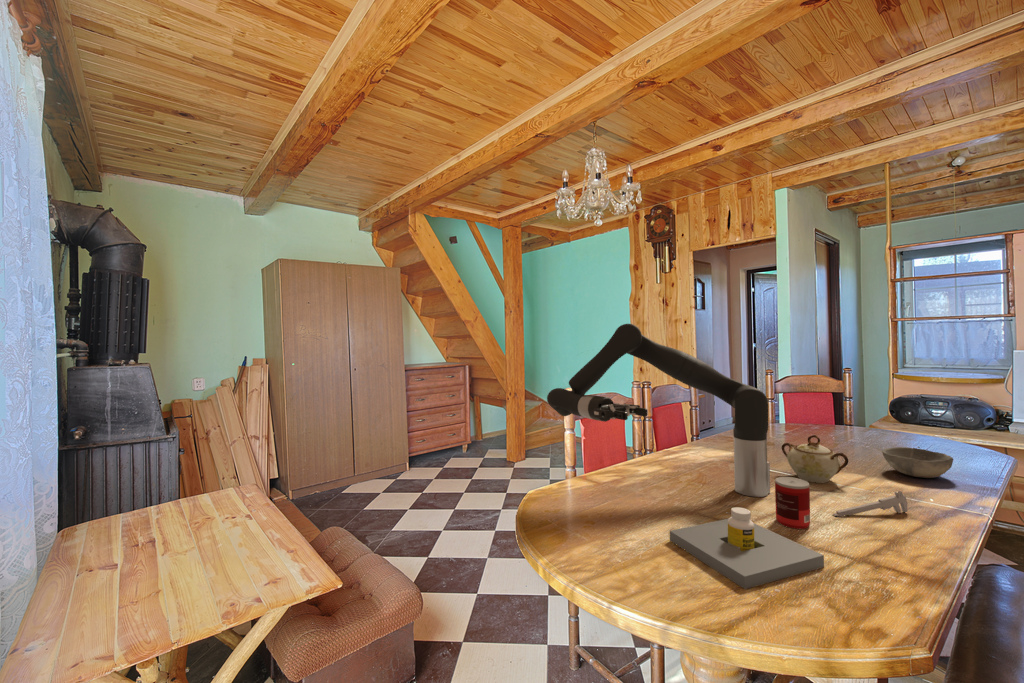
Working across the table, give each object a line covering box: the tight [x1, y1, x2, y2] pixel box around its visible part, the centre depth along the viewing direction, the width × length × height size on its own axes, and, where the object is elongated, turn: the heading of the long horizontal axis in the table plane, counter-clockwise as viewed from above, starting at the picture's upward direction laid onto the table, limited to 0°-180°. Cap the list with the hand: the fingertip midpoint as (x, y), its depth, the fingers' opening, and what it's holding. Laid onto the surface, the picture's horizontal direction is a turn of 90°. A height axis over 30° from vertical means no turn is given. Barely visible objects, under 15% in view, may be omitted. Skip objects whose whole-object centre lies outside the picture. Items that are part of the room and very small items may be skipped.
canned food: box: [774, 476, 811, 530], centre depth 115 cm, size 8×8×11 cm
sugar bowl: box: [781, 434, 849, 484], centre depth 148 cm, size 20×15×15 cm
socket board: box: [669, 518, 825, 590], centre depth 100 cm, size 22×22×2 cm
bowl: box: [881, 446, 954, 479], centre depth 149 cm, size 18×18×8 cm
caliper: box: [832, 490, 909, 517], centre depth 119 cm, size 20×1×6 cm, turn 92°
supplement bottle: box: [727, 507, 755, 551], centre depth 100 cm, size 5×5×10 cm
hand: (637, 414), depth 124 cm, fingers open, 8 cm apart
